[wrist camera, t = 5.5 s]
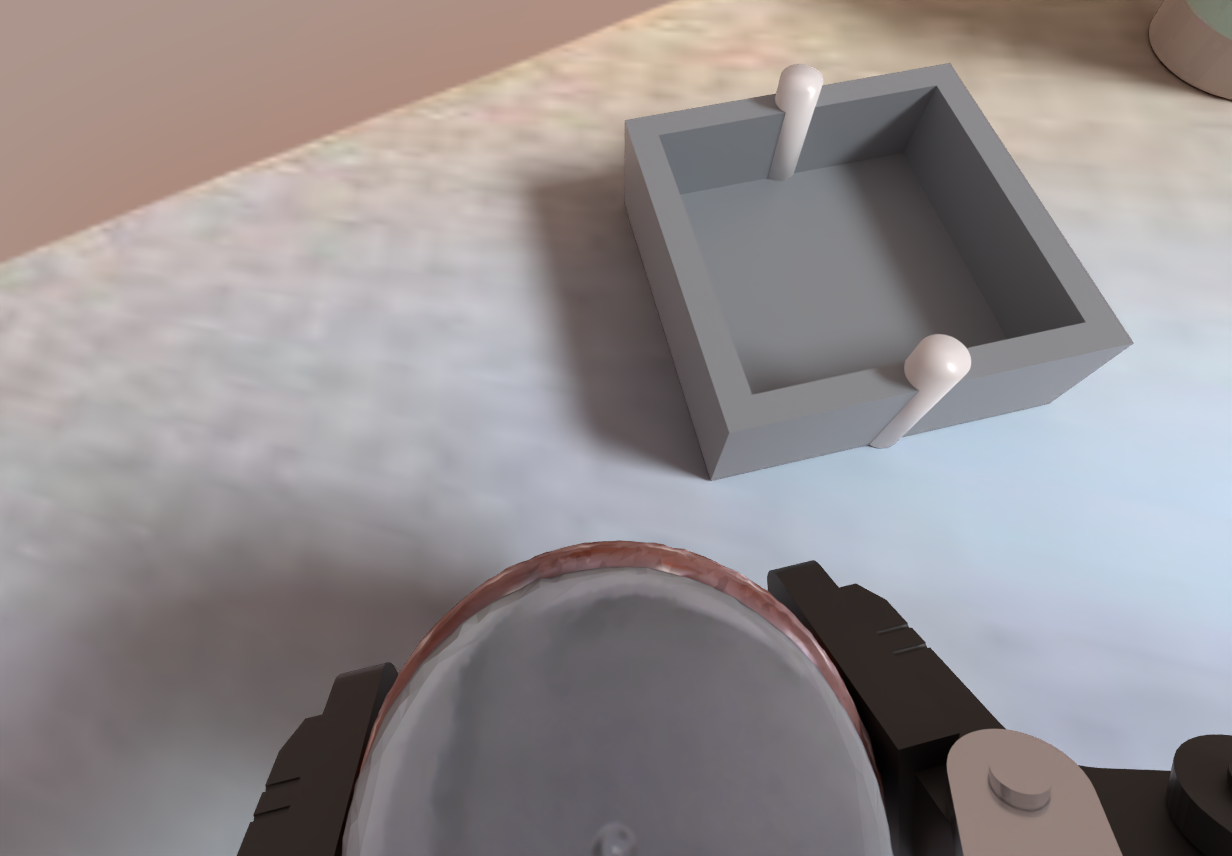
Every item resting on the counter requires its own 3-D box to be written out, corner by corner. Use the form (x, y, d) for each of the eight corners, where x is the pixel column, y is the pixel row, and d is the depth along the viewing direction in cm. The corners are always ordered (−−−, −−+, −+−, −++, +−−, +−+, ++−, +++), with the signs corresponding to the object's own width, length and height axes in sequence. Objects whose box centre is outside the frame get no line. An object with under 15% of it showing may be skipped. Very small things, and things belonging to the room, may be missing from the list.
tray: (713, 487, 17) (737, 428, 14) (623, 198, 22) (623, 94, 18) (1052, 409, 18) (1161, 334, 15) (903, 146, 22) (958, 36, 19)
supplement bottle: (795, 844, 14) (1288, 1220, 4) (537, 964, 13) (234, 1881, 3) (687, 586, 16) (803, 371, 6) (461, 675, 15) (142, 602, 5)
